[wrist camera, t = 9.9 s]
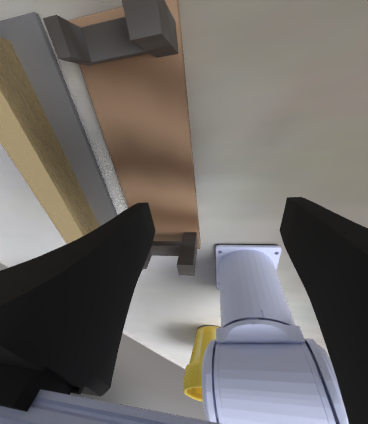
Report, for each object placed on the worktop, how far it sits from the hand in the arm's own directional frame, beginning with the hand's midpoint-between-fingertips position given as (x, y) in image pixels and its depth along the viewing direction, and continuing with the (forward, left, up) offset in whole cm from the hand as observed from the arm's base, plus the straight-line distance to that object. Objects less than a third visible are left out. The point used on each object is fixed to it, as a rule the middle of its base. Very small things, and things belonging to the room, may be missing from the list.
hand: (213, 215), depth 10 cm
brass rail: (0, +17, -9) cm, 19 cm away
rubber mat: (0, +17, -9) cm, 19 cm away
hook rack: (0, +6, -9) cm, 11 cm away
